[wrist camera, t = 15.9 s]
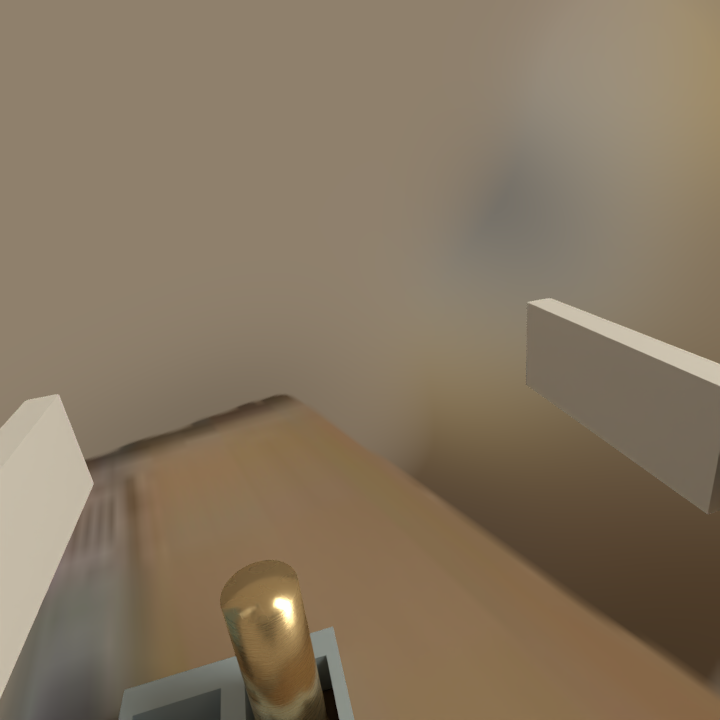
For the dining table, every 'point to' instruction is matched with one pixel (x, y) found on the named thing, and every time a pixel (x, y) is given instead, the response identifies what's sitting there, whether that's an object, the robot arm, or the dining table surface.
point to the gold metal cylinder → (273, 642)
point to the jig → (225, 689)
